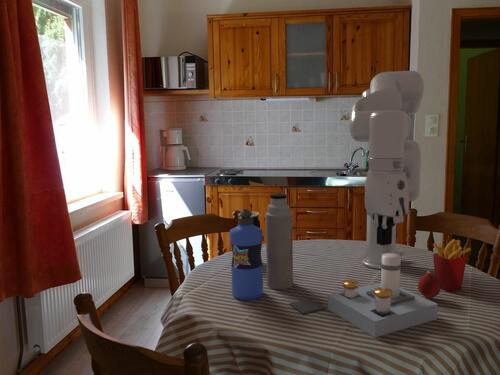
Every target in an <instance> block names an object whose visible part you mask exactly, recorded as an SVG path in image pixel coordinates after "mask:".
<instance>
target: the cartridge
mask: <svg viewBox="0 0 500 375" xmlns="http://www.w3.org/2000/svg"><path fill="white" fill-rule="evenodd" d="M401 258H402V256H400V255H398V254H393V253H386V254H382V262H381V269H380V270H381V273H380V274H381V276H380V278H381V279H380V280H381V282H380V283H381V288H388V289H391V290H392V296H391V300H393V299H397V298H400V288H401V267H402V266H401V265H402V264H401V260H402V259H401Z"/></svg>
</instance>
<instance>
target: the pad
mask: <svg viewBox="0 0 500 375" xmlns="http://www.w3.org/2000/svg"><path fill="white" fill-rule="evenodd" d="M288 304H289V306H290V307H292V308H293V309H295V310H296V311H297V312H298V313H300V314H302V315H306V314H307V315H308V314H311V313H315V312H318V311H323V310H326V307H325V306H323V305H322V304H320V303H318V302H317V301H315V300H314V299H312V298H307V299H303V300H299V301H298V300H297V301H293V302H289V303H288Z"/></svg>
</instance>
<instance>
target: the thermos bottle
mask: <svg viewBox="0 0 500 375" xmlns="http://www.w3.org/2000/svg"><path fill="white" fill-rule="evenodd" d="M269 197H270V204H267V212H266V213H265V244H266V246H265V247H266V248H265V250H266V285H267V287H269V288H271V289H274V290H285V289H290V288H292V287H293V286H294V262H293V260H294V259H293V258H294V257H293V256H294V255H293V254H294V253H293V251H294V250H293V246H294V244H293V212H292V211H291V206H290V205H289V204H288V198H287V197H288V195H287V194H285V193H274V194H270V196H269Z"/></svg>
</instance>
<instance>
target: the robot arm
mask: <svg viewBox="0 0 500 375" xmlns="http://www.w3.org/2000/svg"><path fill="white" fill-rule="evenodd" d="M424 82H425V81H424V78H423V76H422V74H420V73H419V72H418V71H417V70H401V71H400V70H399V71H396V70H395V71H384V72H379V73H378V74H377V75H375V76H374V77H373V78H372V79H371V81H370V86H369V88H368V89H366V90H364V91H363V92H362V93H361V98H360V99H358V100H356V102H355V103H354V104H353V106H352V108H351V112H350V118H349V124H348V125H349V135H350V136H351V139H352V140H354V141H355V142H359V143H369V144H368V171H367V174H366V177H365V179H364V209H365V210H366V255H365V256H364V257H362V259H361V263H362V264H363V265H364V266H365V267H368V268H371V269H376V270H377V269H378V270H381V262H382V254H386V253H393V254H398V255H400V256H401V257H402V256H405V255H406V251H405V249H400V250H397V248H396V236H397V235H396V234H397V233H396V232H397V231H396V230H397V224H401V223H402V224H403V223H404V222H405V218H404V216H408V215H409V212H410V211H409V209H410V205H409V204H410V202H414V201H416V200H417V199H418V198H419V196H420V189H421V188H420V187H421V167H422V166H421V161H422V160H421V159H422V157H421V156H422V155H421V154H422V153H421V148H420V144H419V143H418V141H416V140H412V139H407V138H408V136H409V135H410V134H411V131H412V118H411V117H410V116H409V115H415V114H416V113H417V112H419V109H420V108H421V104H422V100H423V97H424V91H425V84H424Z"/></svg>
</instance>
